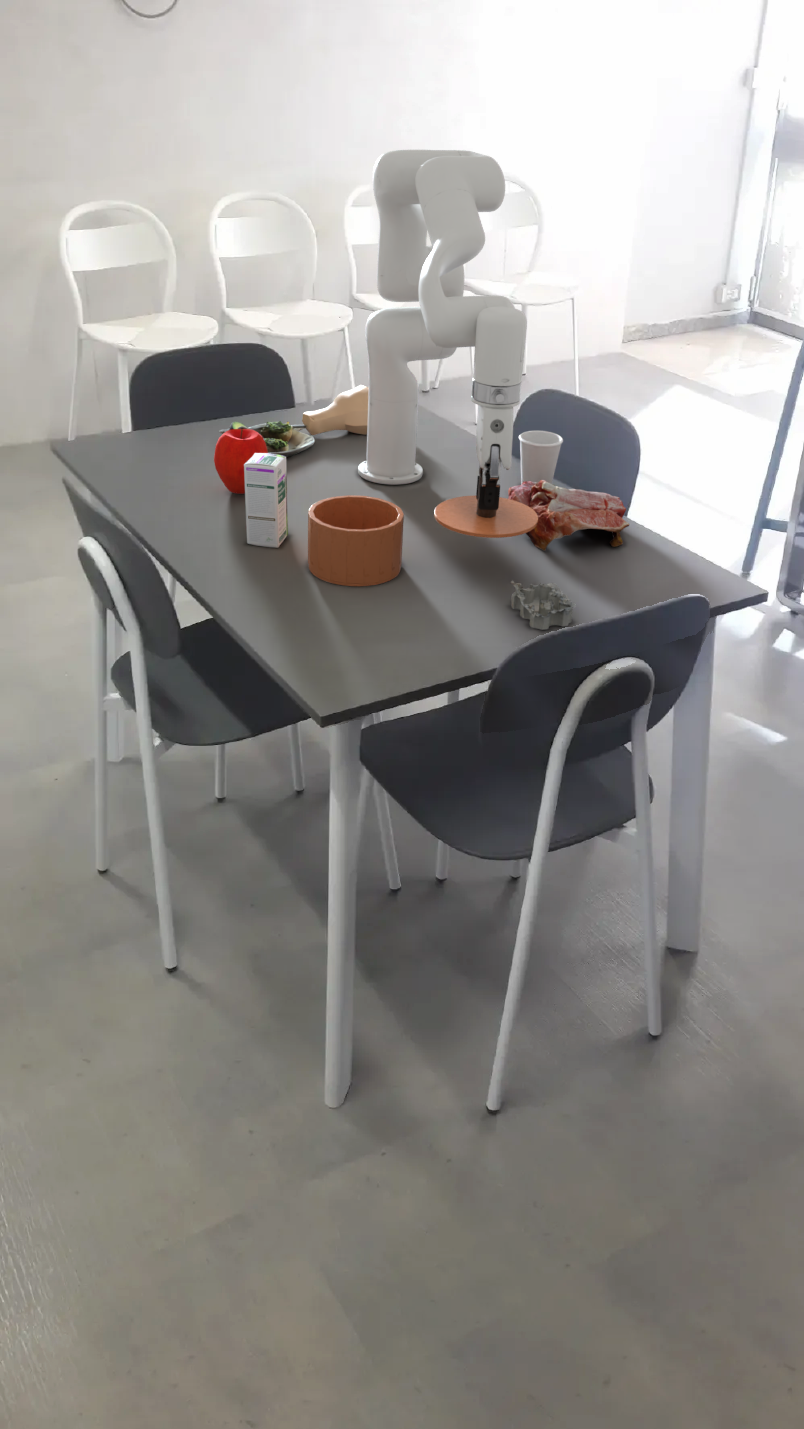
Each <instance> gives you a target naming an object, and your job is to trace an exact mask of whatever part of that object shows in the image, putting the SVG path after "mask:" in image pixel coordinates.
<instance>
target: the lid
mask: <svg viewBox="0 0 804 1429" xmlns="http://www.w3.org/2000/svg"><path fill="white" fill-rule="evenodd" d="M487 473H489V472H487ZM487 473H486V475H487ZM478 476H479V486H478V499H476V494H475V495H463V496H456V497H452V498H448V499H446V500H443V501H442V502H440V503H438V504H437V506H436V507H434V511H433V512H434V515H433V516H434V519H435V521H436V522H437V523H438V524H439V525H440V526H441V527H443V528H445V529H446V530H449V531H452V532H454V533H457V534H461V535H465V536H469V537H470V536H471V537H475V538H476V537H477V538H485V539H487V538H488V539H501V538H513V537H516V536H520V535H521V536H522V535H524V534H526V533H527V532H529V531H531V530H532V529H534V528H535V527H536V525H537V523H538V515H537V513H536V512H535V511H534V510H533V509H532V508H530V507H529V506H527V505H525V504H523V503H520V502H517V501H514V500H511V499H508V498H506V497H500V496H499V507H498V509H497V510H480V509H479V508H478V503H479V490H480V485H482V473H481V474H480V475H479V474H478Z"/></svg>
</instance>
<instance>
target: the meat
mask: <svg viewBox="0 0 804 1429" xmlns="http://www.w3.org/2000/svg"><path fill="white" fill-rule="evenodd" d="M507 494H508V498H507V499H511V500H514V501H517V502H520V503H523V504H525V505H527V506H529V507H530V508H532V509H533V510H534V511H535V512H536V513H537V515H538V523H537V525H536V527H535V528H534V529H532V530H531V531H529V532H527V533H525V535H526V536H527V537H528V538H529V539H530V541H531V542H532V544H533V545H534V547H536V548H538V549H540V550H542V551H543V552H544V551H546V550H547V547H548V545H549V544H550V543H551V542H552V541H553V540H556V539H561V538H564V537H565V536H572V534H573V533H575V532H577V531H581V530H587V529H588V530H589V529H591V530H604V531H607V532H611V536H612V537H613V538H611V540H610V541H609V542H608V544H609V545H610V546H611V547H614V548H615V547H619V546H622V545H623V544H624V541H623V539H622V535H621V532H622V531H623V530H624V529H626V528H628V527H630V523H629V522H627V521H626V520H625V519H624V515H625V513H626V511H627V508H626V507H625V506H624V502H623V500H621V498H620V497H619V496H615V495H611V494H609V493H607V492H599V491H587V490H584V489H578V488H576V489H575V488H566V487H561V486H557V485H555V484H553V483H552V484H551V483H549V482H546V481H545V480H540V481H539V482H538V483H535V482H531V481H528V482H527V481H525V482H524V481H523V482H522V485H521V484H519V485H514V486H510V487H509V488H508V490H507Z"/></svg>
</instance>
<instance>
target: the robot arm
mask: <svg viewBox="0 0 804 1429" xmlns="http://www.w3.org/2000/svg"><path fill="white" fill-rule="evenodd" d="M372 192H373V196H374V199H375V200H374V201H375V204H376V208H377V213H378V226H379V227H378V241H377V242H378V243H377V258H376V259H377V260H376V287H377V291H378V294H379V295H380V297H381V298H382V299H383V300H385V301H388V302H393V303H418V304H419V306H396V307H386V308H381V309H379V310H376V311H374V312H373V313H371V314H370V315H369V317H368V318H367V320H366V322H365V325H364V326H365V328H364V334H365V335H364V336H365V345H366V352H367V363H368V387H369V392H368V426H367V434H366V457H365V458H366V460H363V461H362V462H360V464H359V465H358V467H357V473H358V475H359V476H360V477H361V478H362V479H363V480H366V481H368V482H372V483H374V484H375V483H376V484H381V485H392V486H393V485H395V486H396V485H398V486H399V485H407V484H411V483H414V482H417V481H419V480H420V479H422V477H423V474H424V470H423V467H422V466H421V465H420V464H419V463H418V462H416V457H417V456H416V455H417V439H418V438H417V437H418V420H419V419H418V418H419V417H418V416H419V398H420V397H419V396H420V386H419V381H418V379H417V377H416V376H415V374H414V373H413V372H412V370H411V369H410V368H409V366H408V363H409V362H416V361H417V362H418V361H434V360H443V359H444V360H445V359H447V358H448V359H449V358H450V357H452V356H453V355H454V354H455V353H456V351H457V349H458V348H474V356H473V368H472V369H473V371H472V372H473V373H472V384H471V396H470V397H471V399H470V401H471V402H472V403H474V404H475V405H477V416H476V429H475V431H476V432H475V433H476V434H475V453H476V457H477V462H478V464H479V467H478V475H477V481H476V493H475V495H476V499H478V486H479V475H480V474H481V473H482V485H480V490H479V503H478V508H479V509H480V510H497V509H498V507H499V497H500V495H501V471H502V467H503V469H505V470H506V471H509V470H510V469H511V468H512V456H513V438H514V408H515V407H517V406H519V405H520V403H521V394H522V393H521V391H522V383H523V372H524V361H525V349H526V340H527V339H526V338H527V328H528V319H527V315H526V314H525V313H524V312H523V311H522V310H520V309H518V308H516V306H515V304H514V303H513V301H512V300H511V299H510V298H508V297H507V296H504V295H466V296H465V295H464V290H465V267H464V265H465V264H467V263H469V262H470V261H472V260H473V259H474V258H476V257H477V256H478V255H479V254H480V253H481V252H482V250H483V248H484V247H485V245H486V244H485V243H486V233H485V229H484V227H483V224H482V220H481V217H480V213H492V212H495V211H496V210H499V208H500V207H501V206H502V205H503V202H504V199H505V196H506V180H505V176H504V173H503V169H502V167H501V166H500V163H498V161H496V160H495V159H494V158H493V157H492V156H490V155H486V154H483V153H478V152H475V151H471V150H465V149H463V150H460V149H458V150H457V149H397V150H391V151H387V152H384V153H382V154H380V156H379V157H378V158H377V159H376V161H375V164H374V166H373V171H372ZM428 236H429V240H430V244H431V245H427V240H428V239H427V238H428ZM487 472H489V473H487ZM486 473H487V475H486Z"/></svg>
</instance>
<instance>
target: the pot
mask: <svg viewBox="0 0 804 1429" xmlns="http://www.w3.org/2000/svg"><path fill="white" fill-rule="evenodd" d="M404 519H405V514H404V512H403V510H402V508H401V507H399V506H398V505H397V504H395V503H393V502H391V501H389V500H385V499H383V498H380V497H374V496H368V495H355V494H353V495H352V494H350V495H348V494H347V495H339V496H330V497H327V498H324V499H320V500H318V501H316V502H315V503H313V504H312V505H311V506H310V507H309V509H308V511H307V565H308V569H309V571H310V573H311V574H312V575H313V576H315V578H318V579H319V580H321V581H323V582H327V583H329V584H333V585H339V586H344V587H369V586H376V585H381V584H384V583H387V582H390V581H391V580H393V579H395V578H397V577H398V575H399V574H400V572H401V568H402V560H403V540H404Z"/></svg>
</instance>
